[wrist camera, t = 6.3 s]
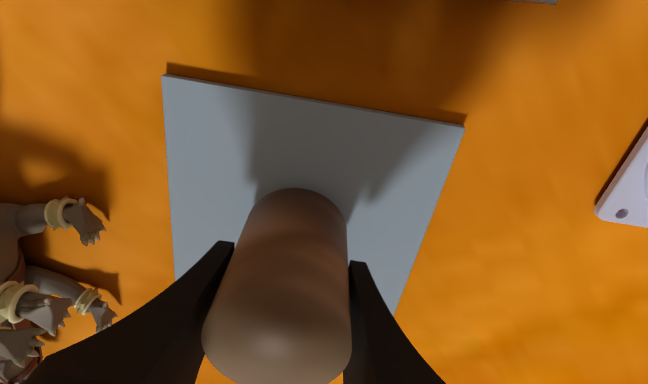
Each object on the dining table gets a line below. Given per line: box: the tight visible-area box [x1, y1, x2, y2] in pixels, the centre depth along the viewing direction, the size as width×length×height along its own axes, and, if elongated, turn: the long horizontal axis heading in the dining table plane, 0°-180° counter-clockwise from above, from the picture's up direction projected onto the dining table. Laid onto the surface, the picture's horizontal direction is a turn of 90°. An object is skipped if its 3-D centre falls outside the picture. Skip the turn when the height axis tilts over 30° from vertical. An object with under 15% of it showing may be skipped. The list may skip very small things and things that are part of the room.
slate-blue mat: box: [161, 74, 465, 316], centre depth 17 cm, size 12×12×1 cm
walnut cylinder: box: [201, 188, 352, 384], centre depth 13 cm, size 4×4×6 cm
